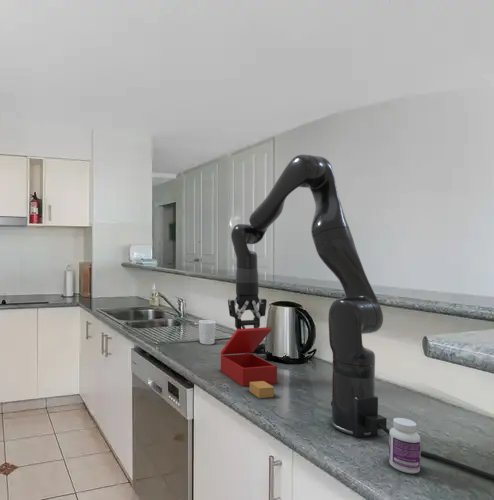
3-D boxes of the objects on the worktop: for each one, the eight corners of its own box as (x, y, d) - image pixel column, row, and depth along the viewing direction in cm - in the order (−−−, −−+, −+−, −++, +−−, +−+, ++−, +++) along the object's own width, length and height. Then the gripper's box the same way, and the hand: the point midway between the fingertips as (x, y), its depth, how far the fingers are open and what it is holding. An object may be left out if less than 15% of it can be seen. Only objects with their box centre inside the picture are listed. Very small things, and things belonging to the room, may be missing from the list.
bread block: (274, 396, 120) (274, 387, 120) (259, 398, 119) (259, 388, 119) (263, 390, 125) (263, 380, 125) (249, 391, 124) (249, 381, 124)
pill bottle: (427, 474, 80) (427, 427, 80) (402, 475, 80) (402, 428, 80) (406, 459, 86) (407, 415, 85) (382, 460, 85) (383, 416, 85)
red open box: (277, 383, 131) (277, 366, 131) (242, 386, 129) (242, 368, 129) (251, 368, 147) (251, 353, 147) (220, 370, 144) (220, 355, 144)
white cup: (205, 339, 190) (205, 319, 189) (219, 343, 183) (219, 321, 183) (194, 342, 184) (195, 321, 184) (208, 346, 178) (208, 324, 178)
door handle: (255, 359, 150) (293, 355, 152) (232, 345, 170) (266, 342, 172) (255, 368, 150) (294, 363, 152) (232, 353, 170) (267, 349, 172)
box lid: (271, 329, 134) (265, 316, 138) (238, 331, 132) (233, 318, 135) (252, 352, 146) (247, 340, 150) (221, 355, 144) (216, 342, 147)
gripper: (233, 282, 133) (234, 332, 132) (271, 281, 136) (272, 329, 135) (223, 280, 140) (223, 328, 140) (259, 279, 143) (260, 326, 143)
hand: (247, 328), depth 138 cm, fingers closed on box lid, 6 cm apart
